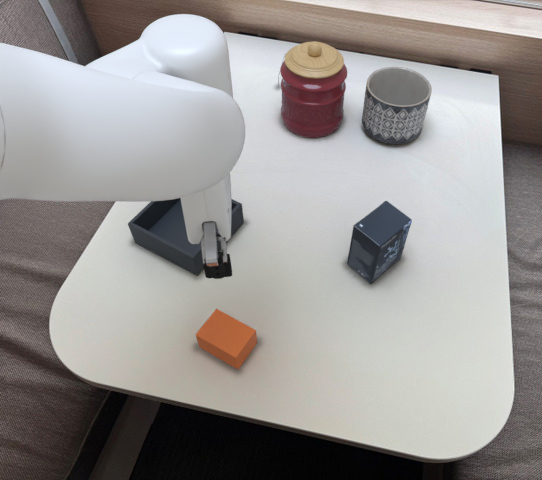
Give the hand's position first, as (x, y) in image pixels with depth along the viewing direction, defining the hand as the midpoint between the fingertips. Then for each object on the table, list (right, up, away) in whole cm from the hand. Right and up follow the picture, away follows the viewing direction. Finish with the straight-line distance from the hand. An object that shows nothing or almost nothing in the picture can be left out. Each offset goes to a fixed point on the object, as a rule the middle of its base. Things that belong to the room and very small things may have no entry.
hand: (218, 244), depth 66 cm
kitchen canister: (+11, +26, +43) cm, 52 cm away
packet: (-1, -15, +11) cm, 19 cm away
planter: (+28, +24, +43) cm, 56 cm away
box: (+22, -3, +21) cm, 31 cm away
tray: (-9, +2, +23) cm, 25 cm away
